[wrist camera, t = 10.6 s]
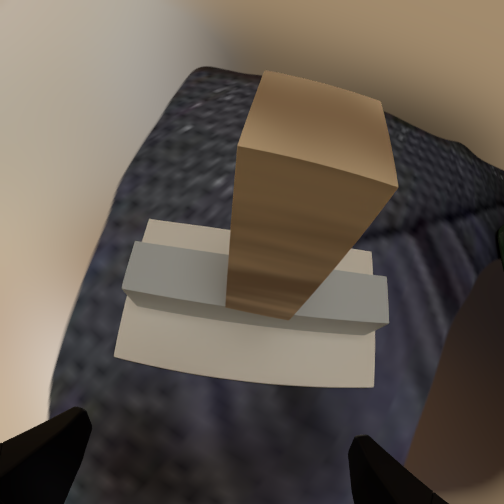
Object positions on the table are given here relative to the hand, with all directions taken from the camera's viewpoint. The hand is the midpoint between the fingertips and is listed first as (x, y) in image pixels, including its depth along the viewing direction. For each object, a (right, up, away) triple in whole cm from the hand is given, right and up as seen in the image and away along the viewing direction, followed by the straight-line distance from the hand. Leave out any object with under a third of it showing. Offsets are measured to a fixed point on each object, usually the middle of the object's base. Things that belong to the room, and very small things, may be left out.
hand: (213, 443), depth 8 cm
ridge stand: (+1, +2, +15) cm, 16 cm away
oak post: (+2, +4, +11) cm, 12 cm away
